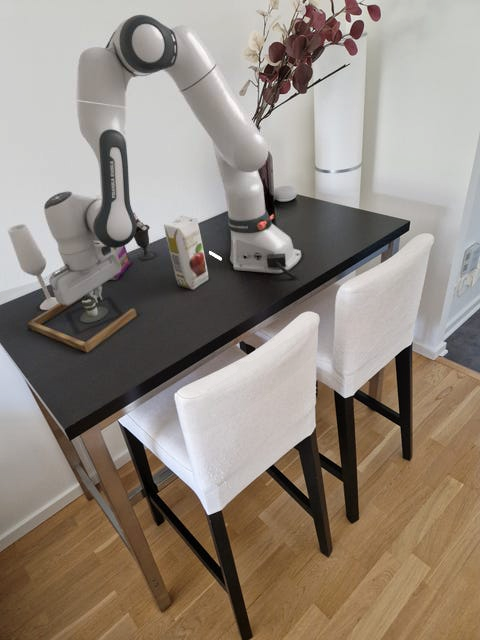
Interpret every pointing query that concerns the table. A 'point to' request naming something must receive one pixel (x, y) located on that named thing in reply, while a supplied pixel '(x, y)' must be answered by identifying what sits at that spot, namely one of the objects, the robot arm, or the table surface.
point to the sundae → (142, 239)
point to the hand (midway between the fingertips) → (97, 301)
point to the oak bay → (71, 341)
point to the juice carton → (186, 251)
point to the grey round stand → (92, 311)
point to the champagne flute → (30, 259)
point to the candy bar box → (122, 257)
